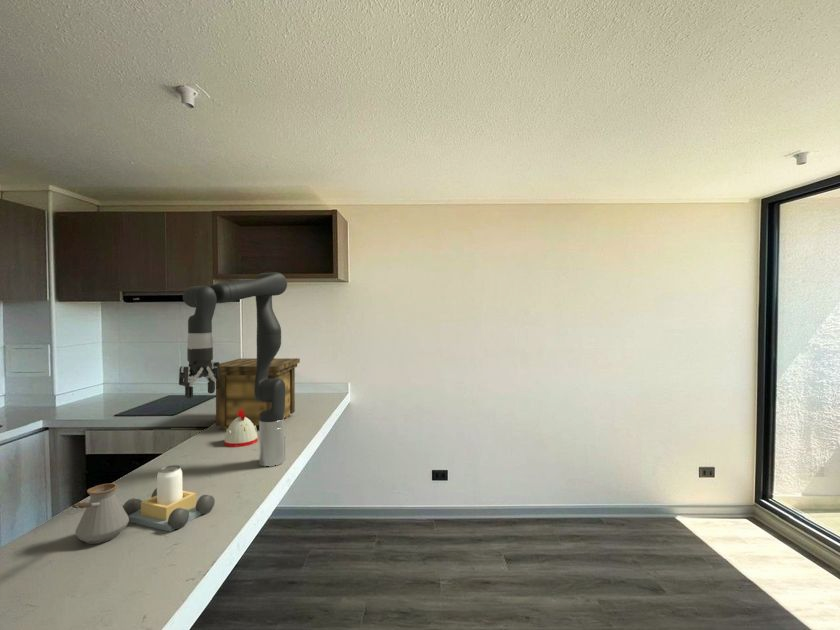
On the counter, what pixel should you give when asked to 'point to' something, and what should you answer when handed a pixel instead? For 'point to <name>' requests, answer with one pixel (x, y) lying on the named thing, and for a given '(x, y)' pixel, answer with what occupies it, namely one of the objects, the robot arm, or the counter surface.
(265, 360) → the robot arm
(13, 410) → the counter surface
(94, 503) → the coffee pot
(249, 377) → the crate
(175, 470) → the can
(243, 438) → the kitchen timer
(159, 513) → the chassis
